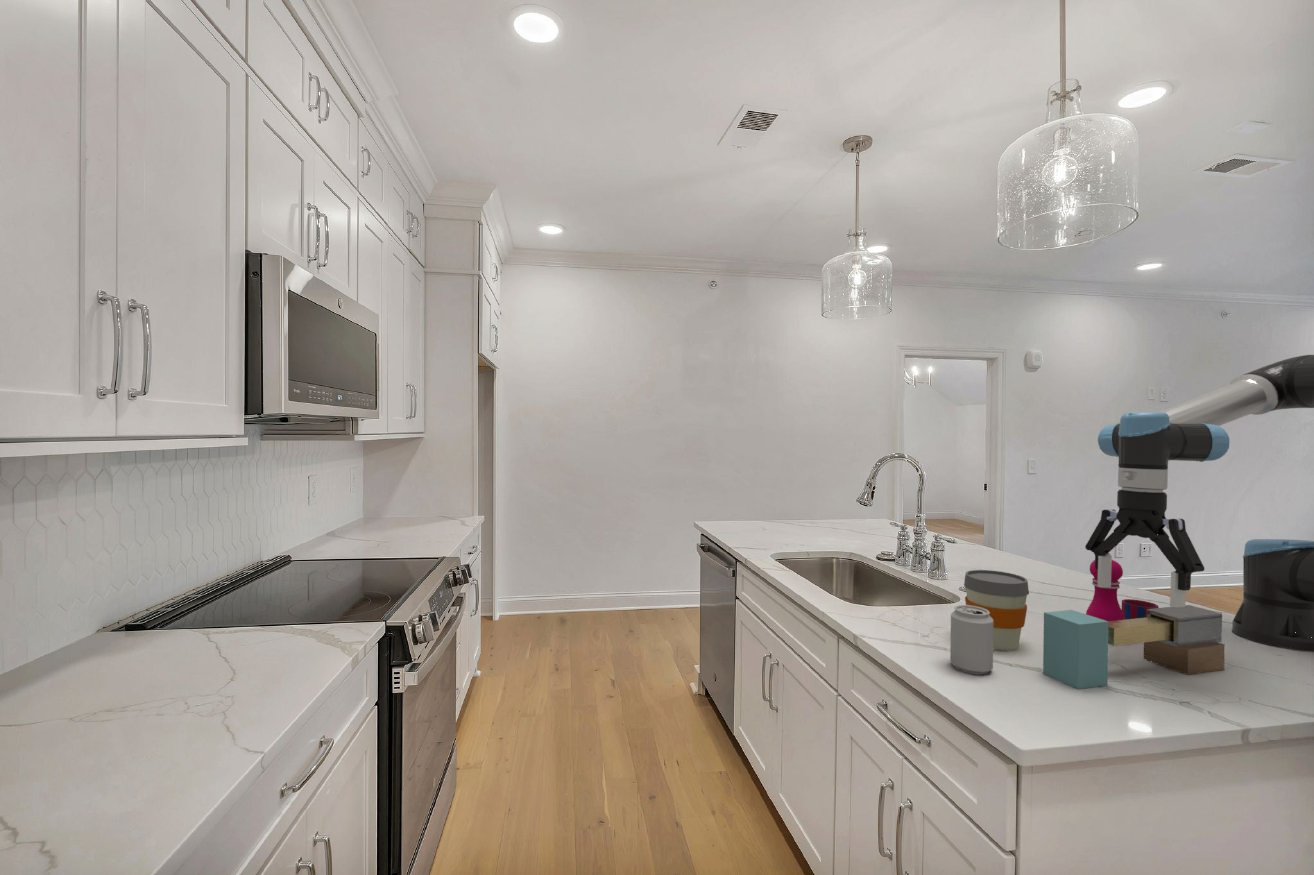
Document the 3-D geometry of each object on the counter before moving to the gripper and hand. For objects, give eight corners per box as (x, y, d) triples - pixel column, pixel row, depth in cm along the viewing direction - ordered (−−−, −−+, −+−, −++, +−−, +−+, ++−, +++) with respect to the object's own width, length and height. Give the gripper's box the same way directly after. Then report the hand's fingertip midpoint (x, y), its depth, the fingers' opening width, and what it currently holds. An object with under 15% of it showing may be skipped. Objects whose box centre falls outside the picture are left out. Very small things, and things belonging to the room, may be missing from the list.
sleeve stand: (1182, 653, 122) (1182, 603, 122) (1227, 669, 114) (1228, 615, 114) (1140, 659, 119) (1140, 607, 119) (1183, 675, 111) (1184, 619, 111)
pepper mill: (1110, 633, 134) (1112, 549, 134) (1133, 645, 127) (1134, 555, 126) (1078, 632, 135) (1079, 548, 134) (1098, 643, 127) (1100, 555, 127)
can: (992, 679, 109) (993, 617, 109) (948, 670, 113) (949, 610, 113) (993, 665, 115) (994, 607, 115) (951, 657, 119) (952, 600, 119)
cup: (1133, 625, 140) (1133, 597, 140) (1181, 639, 130) (1182, 610, 130) (1114, 628, 138) (1114, 600, 138) (1162, 643, 128) (1162, 613, 128)
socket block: (1070, 669, 114) (1071, 609, 113) (1107, 685, 107) (1108, 621, 106) (1043, 672, 112) (1043, 612, 112) (1078, 689, 105) (1079, 624, 105)
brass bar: (1198, 627, 120) (1198, 611, 120) (1218, 633, 116) (1218, 617, 116) (1096, 639, 113) (1096, 622, 113) (1113, 646, 109) (1114, 628, 109)
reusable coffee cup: (1038, 656, 120) (1039, 585, 120) (973, 650, 123) (974, 581, 123) (1014, 635, 132) (1015, 571, 132) (956, 630, 135) (957, 568, 135)
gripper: (1067, 483, 124) (1064, 580, 124) (1202, 497, 100) (1198, 617, 100) (1093, 483, 126) (1091, 578, 126) (1232, 497, 102) (1228, 614, 102)
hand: (1138, 596), depth 113 cm, fingers open, 13 cm apart
